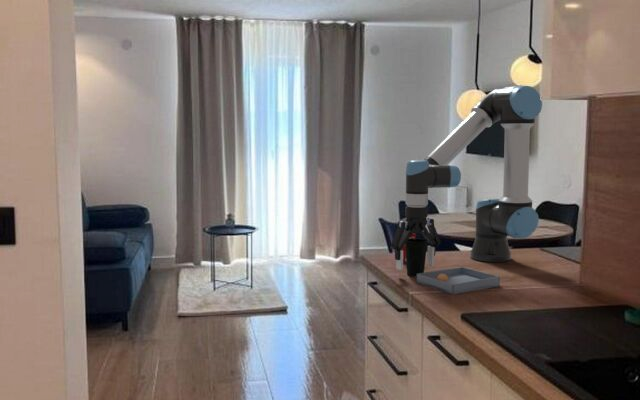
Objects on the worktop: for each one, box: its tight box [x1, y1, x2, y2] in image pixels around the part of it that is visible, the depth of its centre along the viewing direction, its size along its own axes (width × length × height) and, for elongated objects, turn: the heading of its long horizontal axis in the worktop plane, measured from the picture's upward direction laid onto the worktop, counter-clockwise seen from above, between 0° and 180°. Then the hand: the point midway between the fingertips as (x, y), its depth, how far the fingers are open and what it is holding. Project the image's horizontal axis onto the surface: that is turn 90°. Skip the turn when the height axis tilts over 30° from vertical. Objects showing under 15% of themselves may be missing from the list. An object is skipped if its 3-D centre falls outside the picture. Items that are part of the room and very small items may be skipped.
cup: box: [405, 237, 428, 277], centre depth 218 cm, size 8×8×12 cm
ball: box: [437, 274, 448, 282], centre depth 202 cm, size 4×4×4 cm
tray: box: [416, 266, 501, 295], centre depth 205 cm, size 20×17×3 cm
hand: (415, 267), depth 218 cm, fingers open, 13 cm apart
